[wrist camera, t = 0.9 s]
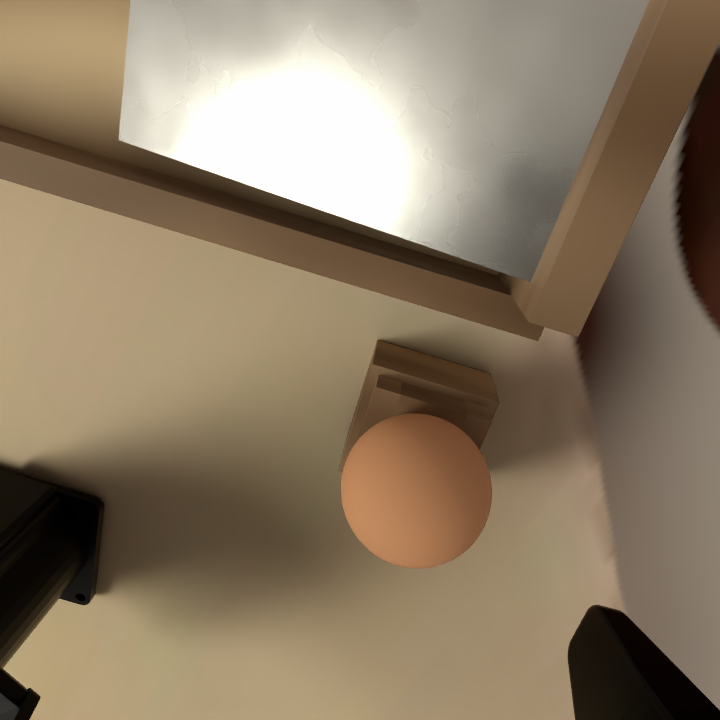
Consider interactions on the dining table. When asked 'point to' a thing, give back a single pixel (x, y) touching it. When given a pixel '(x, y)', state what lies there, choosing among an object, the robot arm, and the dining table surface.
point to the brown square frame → (422, 393)
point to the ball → (416, 490)
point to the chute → (385, 107)
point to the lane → (319, 228)
